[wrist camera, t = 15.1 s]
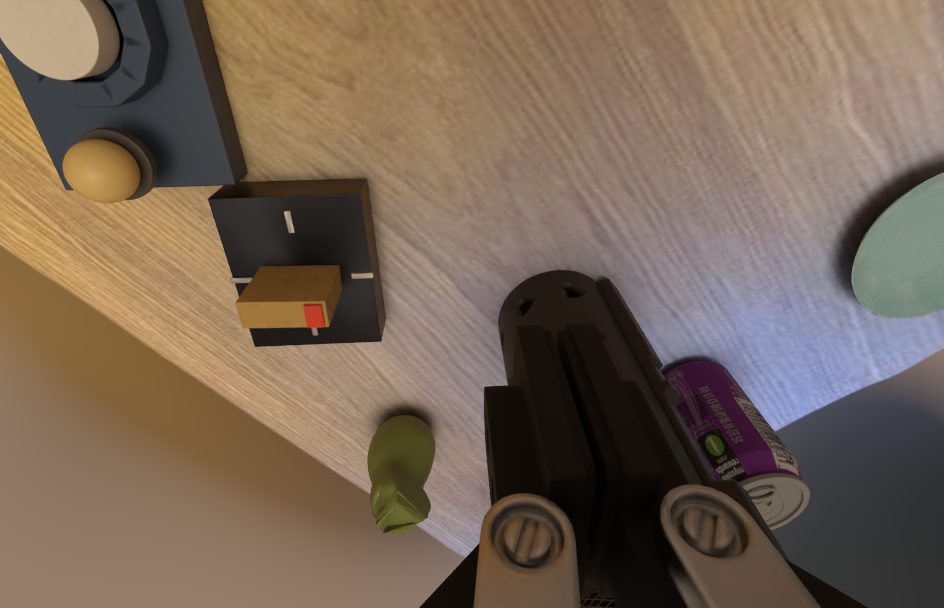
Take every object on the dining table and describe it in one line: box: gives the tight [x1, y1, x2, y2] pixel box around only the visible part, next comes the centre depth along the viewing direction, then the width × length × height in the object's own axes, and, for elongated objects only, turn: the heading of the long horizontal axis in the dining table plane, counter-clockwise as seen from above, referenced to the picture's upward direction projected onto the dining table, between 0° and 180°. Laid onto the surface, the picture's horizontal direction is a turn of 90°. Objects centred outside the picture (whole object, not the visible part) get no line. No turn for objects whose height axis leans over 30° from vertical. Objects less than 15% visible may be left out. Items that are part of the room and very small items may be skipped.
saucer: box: [851, 172, 944, 318], centre depth 35 cm, size 12×12×2 cm
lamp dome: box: [63, 127, 158, 203], centre depth 25 cm, size 4×4×3 cm
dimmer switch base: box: [208, 179, 386, 347], centre depth 33 cm, size 11×9×3 cm
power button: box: [0, 0, 120, 80], centre depth 22 cm, size 4×4×2 cm
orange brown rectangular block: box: [236, 265, 343, 328], centre depth 30 cm, size 5×2×5 cm, turn 89°
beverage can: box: [664, 361, 810, 530], centre depth 38 cm, size 7×7×12 cm
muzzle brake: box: [498, 271, 790, 608], centre depth 26 cm, size 10×28×10 cm
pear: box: [368, 415, 435, 535], centre depth 39 cm, size 6×5×10 cm
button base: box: [0, 0, 247, 190], centre depth 26 cm, size 12×10×4 cm
